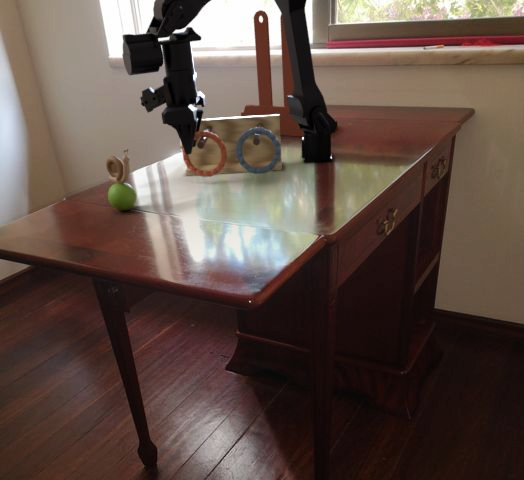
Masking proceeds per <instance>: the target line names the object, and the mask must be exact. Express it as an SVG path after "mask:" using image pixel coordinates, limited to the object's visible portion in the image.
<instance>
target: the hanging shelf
mask: <svg viewBox="0 0 524 480" xmlns="http://www.w3.org/2000/svg"><path fill="white" fill-rule="evenodd" d="M260 17H262V21H260ZM279 18H280V21H279V23H280V44H281V45H280V46H281V60H282V61H281V66H282V69H281V70H282V93H283V105H273V104H274V102H273V85H272V84H273V83H272V65H271V64H272V63H271V62H272V61H271V45H270V26H269V25H270V24H269V23H270V22H269V16H268V14H267V12H266V11H265V10H257V11H255V14H254V15H253V31H254V40H255V41H254V43H255V44H254V47H255V59H256V60H255V61H256V77H257V89H258V90H257V91H258V104H246V105H245V106H244V110H242V111H240V117H242V116H257V115H273V114H279V115H280V136H290V137H291V136H292V137H293V136H294V137H301V138H302V137H304V130H300V129H299V126H298V123H297V122H296V121H294V119H293V117H292V115H289V104H288V101H287V96H291V95H292V93H293V89H294V82H293V76H292V70H291V64H290V58H289V53H288V47H287V41H286V35H285V29H284V23H283V17H282V13H280V17H279ZM335 121H336V122H337V123H338V120H335Z"/></svg>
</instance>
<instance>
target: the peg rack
mask: <svg viewBox="0 0 524 480" xmlns="http://www.w3.org/2000/svg"><path fill="white" fill-rule="evenodd" d="M251 128H264V129H267V130H270V131H271V132H272V133H273V134H274V135H275V136H276V137H277V139H278V141H279V143H280V148H281V149H282V139H281V138H282V137H281V136H282V135H280V115H279V114H273V115H257V116H242V117H241V116H227V117H213V118H202V121H201V125H200V129H199V131H208V132H211V133H214V134H216V135H217V136H218V137H219V138H220V139H221V140H222V141H223V143H224V145H225V147H226V152H227V160H226V163H225V166H224V167H223V169H222V170H221V171H220V172H219V173H217V174H216V175H221V174H238V173H250V172H249V171H247V170H246V169H245V168H244V167H242V166H241V164H240V162H239V160H238V158H237V153H236V146H237V143H238V140H239V138H240V137H241V136H242V134H243V133H244V132H246V131H248V130H250V129H251ZM274 155H275V146H274V144H273V142H272V140H271V139H270V138H268V137H267V136H265V135H263V134H253V135H251V136H249V137H248V138H247V139H246V140H245V141H244V143H243V146H242V156H243V158H244V160H245V162H247V163H248V164H249V165H250V166H252V167H255V168H263V167H265V166H267V165H269V164H270V163H271V162H272V160H273V158H274ZM189 159H190V161H191V163H192V165H194V166H195V167H196V168H197V169H199V170H202V171H210V170H212V169H214V168H216V167H217V166H218V164H219V163H220V160H221V150H220V148H219V146H218V144H217V143H216V142H215V141H214V140H212V139H210V138H207V137H200V138H198V139H197V142H196V146H195V147H193V148H192V153H191V154H189ZM282 166H283V159H282V154H281V155H280V158H279V161H278V163H277V164H276V166H275V167H274V168H273V169H272V170H270V171H269V172H271V171H272V172H273V171H282V170H283V169H282V168H283V167H282ZM185 175H186V176H197V175H196V174H194V173H193V172H192V171H191V170H190V169H188V167H187V166H186V169H185Z"/></svg>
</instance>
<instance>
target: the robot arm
mask: <svg viewBox="0 0 524 480" xmlns="http://www.w3.org/2000/svg"><path fill="white" fill-rule="evenodd" d="M211 1H212V0H154V2H153V7H152V11H153V16H152V19H151V20H150V23H149V25H148V27H147V30H146V32H145V33H138V34H131V33H126V34H125V33H124V34H122V35H121V36H122V61H123V64H124V68H125V70H126V73H127V74H128V76H138V75H143V74H152V73H158V72H159V71H160V68H161V67H163V65H164V71H165V76H164V77H163V78H162V82H163V84H161V85H160V86H158V87H156V88H154V89H153V88H152V87H150V86H149V87H147V88H145V89H143V90H142V91H141V96H140V97H139V99H140V101H141V102H140V105H141V106H142V107H144V108H145V110H146V112H147V113H150V112H153V111H154V109H156V108H159V107H160V106H162V105H166V107H165V108H164V109H163V111H162V112H161V121H162V124H163V125H168V126H170V127H171V128H172V129H174V130H175V131H176V133H177V136H178V137H179V141H180V140H181V143H182V145H183V148H184V150H185V153H186V154H191V153H192V148H193V147H195V146H196V142H197V139H196V140H194V138H195V133H196V132H198V131H199V129H200V125H201V121H202V119H203V116H204V113H205V109H204V108H206V106H207V101H206V95H205V94H204V93H203V92H202V91H201V90H199V91H198V88H197V78H198V73H197V71H196V70H195V63H194V62H195V61H194V55H193V46H192V42H198V41H201V40H202V36H201V35H200V34H198V33H197V32H196V31H195V30H194V28H193V27H191V26H188V25H190V23H192V22H193V20H194V19H195V18H196V17H197V16H198V15H199V14H200V13H201V11H202V10H203V9H204V7H205V6H206V5H208V4H209V2H211ZM273 1H274V3H275V4H276V6H277V8H278V9H279V12H280V14H282V17H283V23H284V29H285V35H286V41H287V47H288V53H289V58H290V64H291V70H292V76H293V82H294V89H293V93H292V95H291V96H287V101H288V104H289V115H292V117H293V119H294V121H296V122H297V123H298V126H299V129H300V130H304V137H302V136H301V138H300V140H301V141H300V143H301V146H300V147H301V158H302V159H303V162H304V163H313V162H314V163H316V162H317V163H318V162H332V160H333V157H332V134H335V133H336V131H337V128H338V121H337V120H336V119H334V118H333V117H332V115H330V114H329V112H328V107H327V103H326V101H325V98H324V95H323V93H322V91H321V90H320V88H319V86H318V84H317V81H316V77H315V69H314V63H313V55H312V49H311V42H310V36H309V31H308V30H309V29H308V22H307V17H306V16H307V15H306V4H307V0H273ZM182 29H183V30H184V29H185V30H184V31H182V32H175V31H179V30H182ZM165 38H168V39H165ZM159 39H161V40H159ZM198 106H201V108H198ZM336 121H337V122H336Z"/></svg>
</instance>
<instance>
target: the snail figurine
mask: <svg viewBox="0 0 524 480" xmlns="http://www.w3.org/2000/svg"><path fill="white" fill-rule="evenodd" d="M122 153H124V155H122V157H121V159H120V158H119V157H117V156H116V155H111V156H109V157H108V158H107V159H106V161H105V167H106V170H107V172H108V174H109V175H108V179H109V180H110V181H111V182H112V183H113V184H112V185H111V186H110V187H109V189H108V192H107V198H108V202H109V204H110V205H111V206H112V207H113V208H114V209H116V210H118V211H122V212H124V211H128V210H130V209H132V208H133V207H134V206H135V204H136V202H137V192H136V190H135V188H134V186H132V185H131V184H129V183H127V182H128V181H129V180H130V179H129V178H130V172H131V171H130V170H131V169H130V168H131V167H130V157H129V155H128V154H129V149H128V148H125V149H124V148H123V150H122ZM126 153H127V154H126Z"/></svg>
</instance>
